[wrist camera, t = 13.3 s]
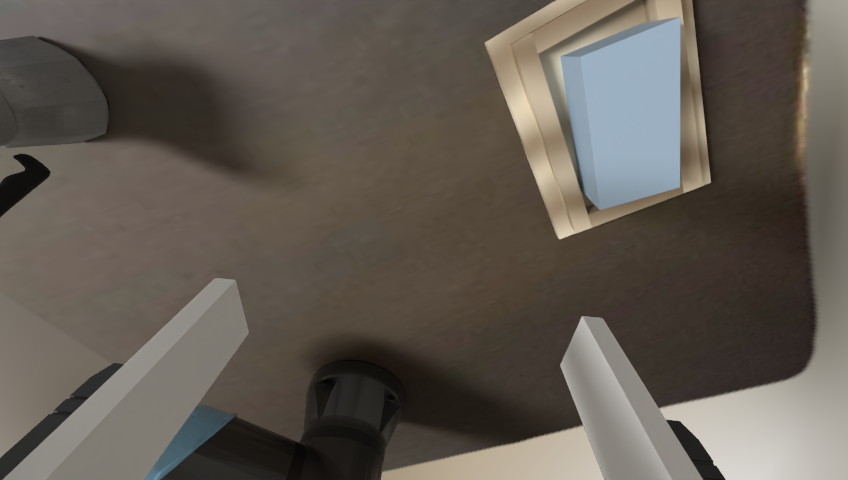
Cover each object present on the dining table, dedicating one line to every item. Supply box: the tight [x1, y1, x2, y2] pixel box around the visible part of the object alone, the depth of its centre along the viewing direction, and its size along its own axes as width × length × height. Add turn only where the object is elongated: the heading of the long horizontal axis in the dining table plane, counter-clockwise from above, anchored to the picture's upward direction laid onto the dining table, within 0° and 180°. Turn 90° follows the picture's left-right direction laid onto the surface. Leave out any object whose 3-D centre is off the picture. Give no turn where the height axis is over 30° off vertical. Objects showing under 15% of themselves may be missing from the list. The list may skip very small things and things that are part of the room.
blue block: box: [560, 17, 680, 210], centre depth 25 cm, size 12×6×4 cm, turn 21°
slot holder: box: [485, 0, 711, 239], centre depth 27 cm, size 20×14×3 cm
